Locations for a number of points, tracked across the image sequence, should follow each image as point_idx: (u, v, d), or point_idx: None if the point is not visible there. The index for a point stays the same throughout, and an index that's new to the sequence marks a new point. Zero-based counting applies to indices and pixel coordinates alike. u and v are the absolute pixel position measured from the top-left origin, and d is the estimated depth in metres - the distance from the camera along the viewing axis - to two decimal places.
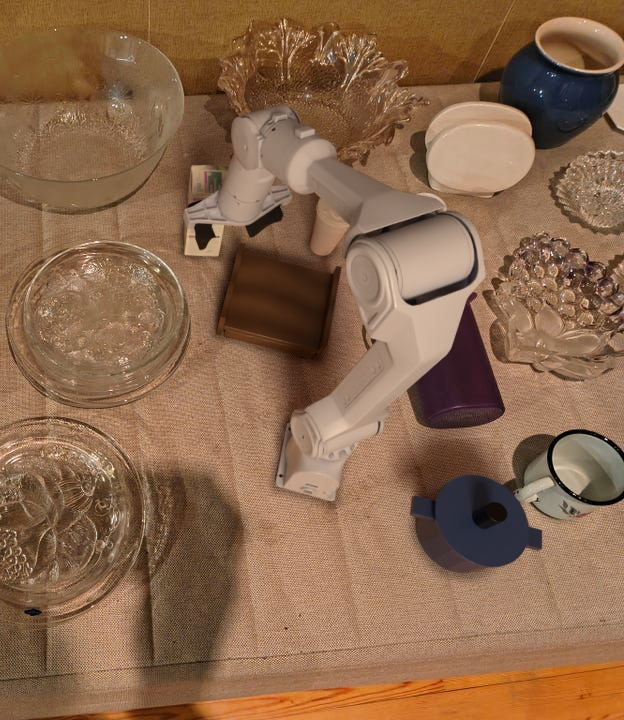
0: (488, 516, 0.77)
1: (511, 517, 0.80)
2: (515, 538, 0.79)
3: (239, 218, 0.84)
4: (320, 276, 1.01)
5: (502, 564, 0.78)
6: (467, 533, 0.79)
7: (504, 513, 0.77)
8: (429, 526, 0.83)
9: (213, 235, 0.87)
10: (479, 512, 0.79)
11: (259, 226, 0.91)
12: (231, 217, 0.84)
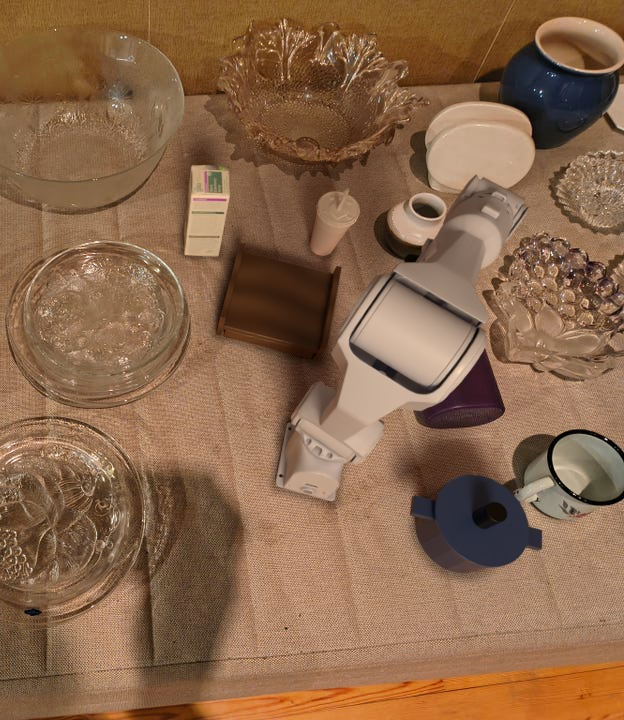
0: (488, 516, 0.77)
1: (511, 517, 0.80)
2: (515, 538, 0.79)
3: None
4: (320, 276, 1.01)
5: (502, 564, 0.78)
6: (467, 533, 0.79)
7: (504, 513, 0.77)
8: (429, 526, 0.83)
9: None
10: (479, 512, 0.79)
11: None
12: None
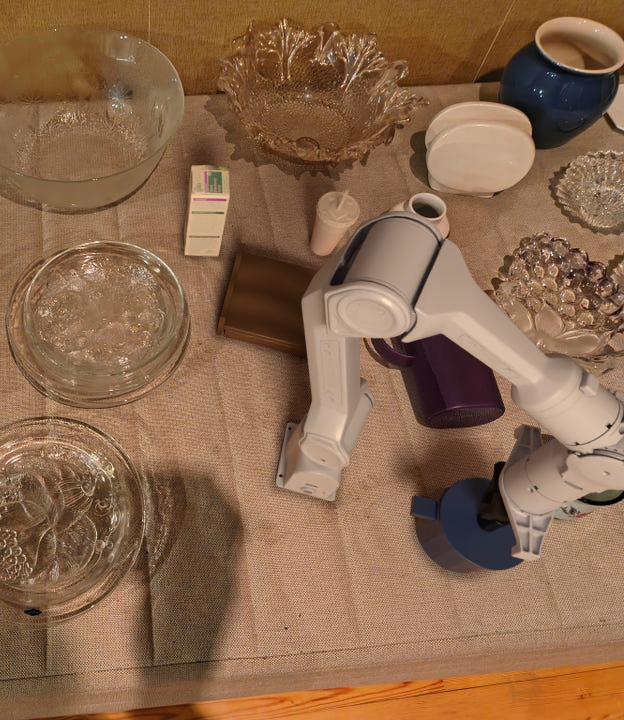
0: (493, 519, 0.77)
1: None
2: None
3: (510, 467, 0.70)
4: None
5: (506, 567, 0.78)
6: (471, 535, 0.79)
7: None
8: (429, 526, 0.83)
9: (496, 477, 0.73)
10: None
11: None
12: (514, 463, 0.70)
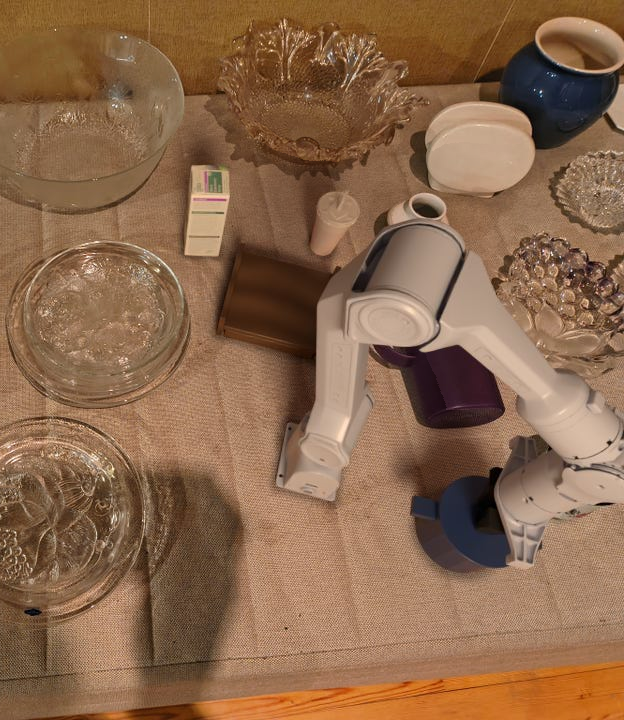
0: None
1: None
2: None
3: (506, 478, 0.72)
4: (320, 276, 1.01)
5: (505, 565, 0.78)
6: (470, 533, 0.79)
7: None
8: (429, 526, 0.83)
9: (492, 482, 0.75)
10: (483, 512, 0.79)
11: None
12: (509, 473, 0.72)
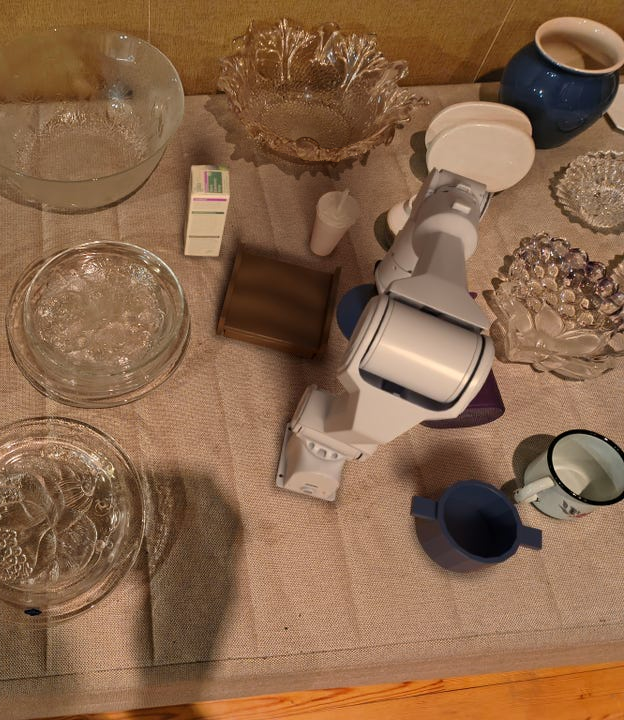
0: None
1: None
2: None
3: None
4: (320, 276, 1.01)
5: None
6: None
7: None
8: (429, 526, 0.83)
9: (376, 271, 0.84)
10: None
11: None
12: None
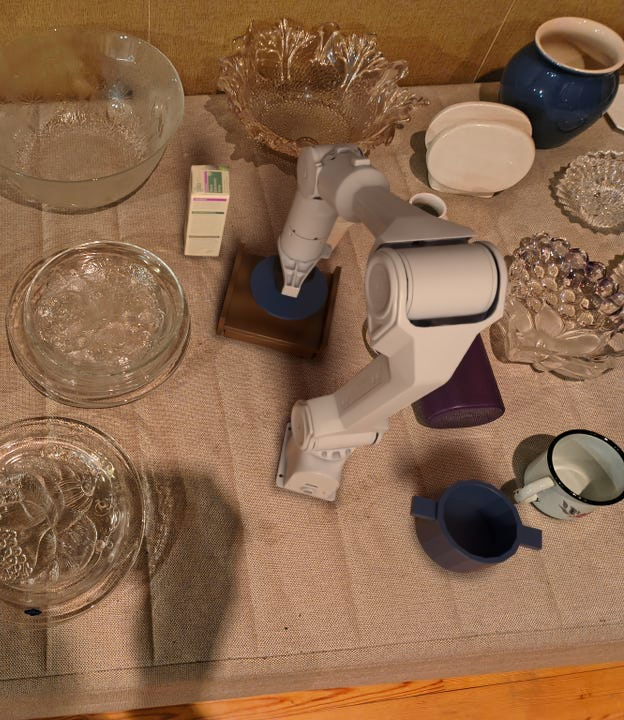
0: None
1: (314, 285, 0.96)
2: (314, 299, 0.95)
3: None
4: None
5: (299, 317, 0.93)
6: (274, 294, 0.95)
7: None
8: (429, 526, 0.83)
9: None
10: None
11: None
12: None
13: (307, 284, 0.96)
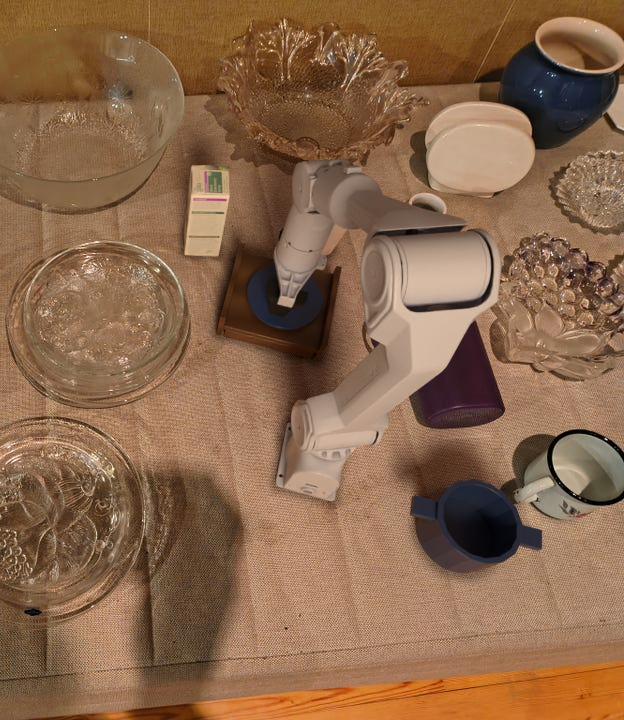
0: None
1: (309, 295, 0.98)
2: (309, 309, 0.97)
3: None
4: (320, 276, 1.01)
5: (295, 326, 0.96)
6: None
7: None
8: (429, 526, 0.83)
9: (280, 238, 0.93)
10: None
11: None
12: None
13: None
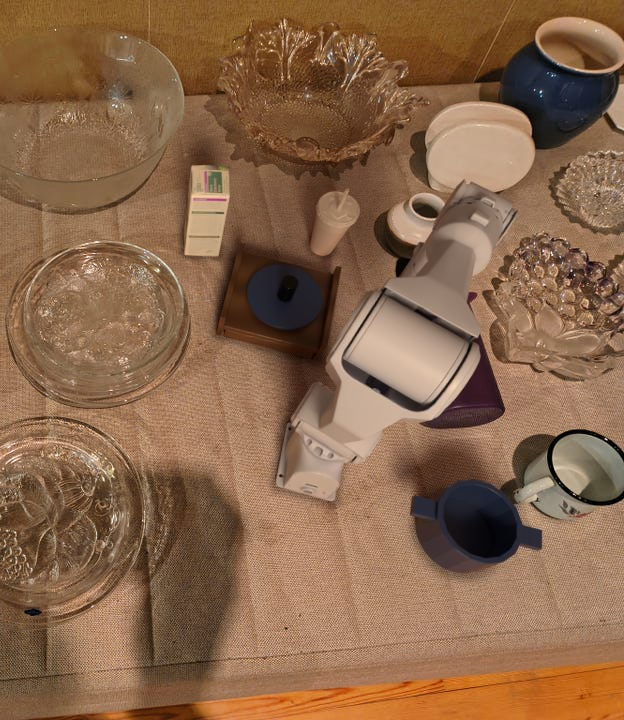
0: (282, 285, 0.95)
1: (309, 295, 0.98)
2: (309, 309, 0.97)
3: None
4: (320, 276, 1.01)
5: (295, 326, 0.96)
6: (270, 304, 0.97)
7: (296, 283, 0.95)
8: (429, 526, 0.83)
9: (397, 269, 0.85)
10: (279, 286, 0.96)
11: None
12: None
13: (302, 294, 0.98)
